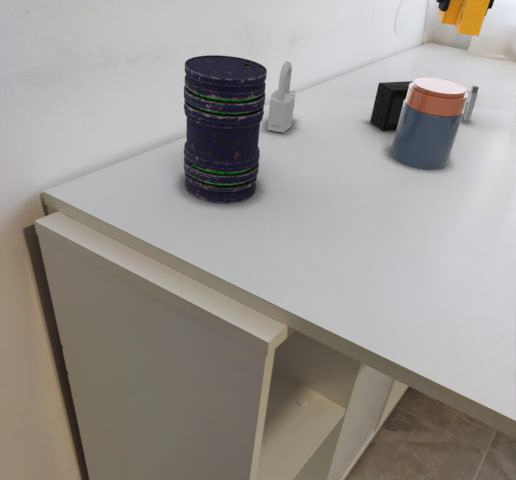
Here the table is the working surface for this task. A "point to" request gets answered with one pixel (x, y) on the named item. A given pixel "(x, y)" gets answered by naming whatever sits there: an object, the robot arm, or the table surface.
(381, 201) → the table surface
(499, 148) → the table surface
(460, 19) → the orange stepped block
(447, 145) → the lidded canister
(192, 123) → the storage jar
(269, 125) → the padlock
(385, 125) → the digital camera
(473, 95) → the caliper
